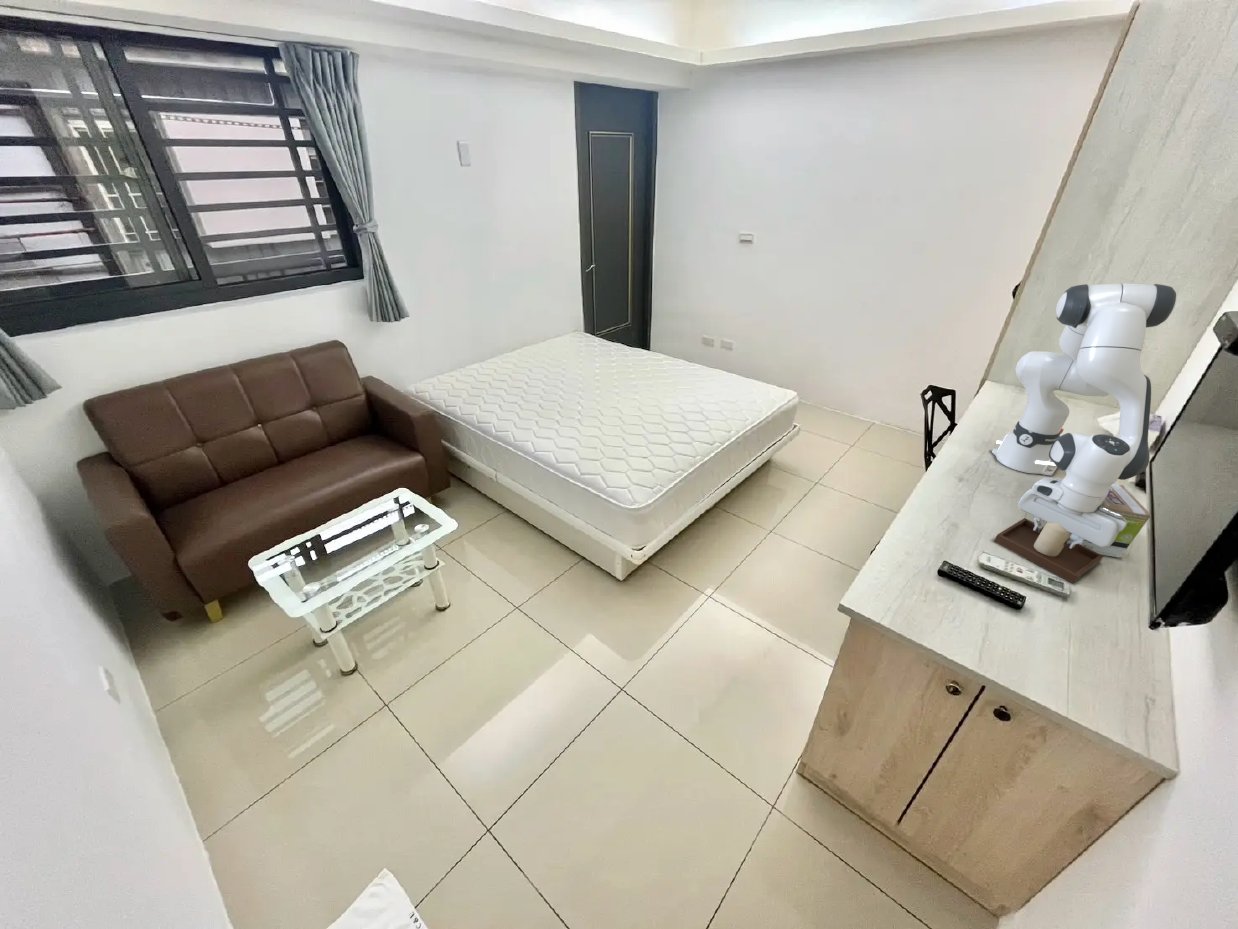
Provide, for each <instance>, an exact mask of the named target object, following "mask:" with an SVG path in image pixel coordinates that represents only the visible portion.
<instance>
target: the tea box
mask: <svg viewBox="0 0 1238 929" xmlns="http://www.w3.org/2000/svg"><path fill="white" fill-rule="evenodd" d="M1101 506H1102V507H1104V508H1107V509H1109V510H1111V511H1113V512H1115V513H1118V514H1121V515H1122V516H1123V518H1125V519H1126V521H1127V526H1126V527H1125V528H1124V530H1123V531H1120V532H1119V533H1118V535H1117V537H1116V539H1115V541H1114V542H1113V543H1112V544H1111V545H1110V546H1108V547H1100V546H1098V545H1095V544H1093V543H1091V542H1089V541H1087V540H1084V541H1083V542H1081V543H1078V544H1080V545H1082V546H1084V547H1086V548H1088V549H1090V550H1092V551H1094V552H1096V553H1098V554H1101V555H1103V556H1108V557H1112V558H1113V557H1114V558H1119V559H1120V558H1121V557H1122V556H1123V555H1124V553H1125V552H1126V551H1127V550H1128V547H1129V546H1130V545H1131V544H1132V543H1133V541H1134V540H1135V538H1136V537H1137V535H1138V534H1139V533H1140V532H1141V530H1142V529H1143V527H1144V526H1145V525H1146V524H1147V522H1148V521H1149V520H1150V518H1151V516H1152V515H1151V513H1150V512H1149V511H1148V510H1147V508H1145V507H1144V505H1142V504H1141V503H1140V501H1139V500H1138V499H1137V498H1136V497H1135V496H1134V495H1133V494H1132V493H1131V492H1130V491H1129V489H1127V488H1126V487H1125V485H1123V484H1119V483H1113V484H1112V485H1111V486H1110V488H1109V492H1108V495H1107V496H1106V498H1105V499H1104V501H1103V502H1102V504H1101ZM1122 520H1123V519H1122ZM1076 538H1077V536H1076V535H1074V534H1071V536H1070V538H1069V540H1070V539H1072V540H1077V539H1076Z"/></svg>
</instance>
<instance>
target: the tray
mask: <svg viewBox="0 0 1238 929" xmlns="http://www.w3.org/2000/svg"><path fill="white" fill-rule="evenodd" d="M1034 527H1035V524H1034V521H1033V520H1030V519H1028V518H1026V517H1023V518H1022V519H1020V520H1019V521H1017V522H1015V523H1013V524H1012V525H1011V526H1009V527H1007V528H1006V529H1004V530H1002V531H1000V532H999V533H997V534H996V536H995V538H994V540H993V542H994V543H995V544H997V545H1000V546H1001V547H1004V548H1005V549H1007V550H1008V551H1011V552H1013V553H1015V554H1017V555H1018V556H1020V557H1022V558H1024V559H1026V560H1028V561H1030V562H1031V563H1033V564H1035V565H1037V566H1039V567H1041V568H1042V569H1044V570H1046V571H1048V572H1050V573H1052V574H1053V575H1056V576H1057V577H1059V578H1061V579H1063V580H1065V581H1067V582H1069V583H1071V584H1074V583H1076V582H1077V581H1078V580H1079V579H1081V578H1082V577H1083V576H1084V575H1086V574H1087V573H1088V572H1090V571H1091V570H1092V569H1093V568H1095V567H1096V566H1097V565H1098V564H1100V562H1101V561H1102V559H1103V558H1104V555H1102V554H1098V553H1096V552H1094V551H1092V550H1090V549H1088V548H1086V547H1084V546H1082V545H1080V544H1076V545H1075V546H1074V547H1073V548H1072V549H1070V548H1068V547H1066V546H1065V545H1064V547H1063V549H1062V550H1061V552H1060V553H1059V555H1057V556H1047V555H1044V554H1042V553H1040V552H1038V551H1037V550H1036V549H1035V548H1034V543H1035V542H1036V540H1037V538H1038V536H1039V535H1040V533H1041V532H1040V533H1038V532H1036V531H1034V530H1033V529H1034ZM1068 540H1070V538H1069V539H1068ZM1066 543H1067V542H1066Z"/></svg>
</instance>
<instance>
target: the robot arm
mask: <svg viewBox="0 0 1238 929" xmlns="http://www.w3.org/2000/svg"><path fill="white" fill-rule="evenodd" d="M1176 304H1177V292H1176V291H1175V289H1174V288H1173V287H1172V286H1169V285H1166V284H1161V283H1160V284H1159V283H1154V284H1147V283H1132V282H1120V283H1099V284H1089V285H1088V284H1087V283H1086V284H1078V285H1073V286H1070V287H1068V288H1067V289H1066V290H1065V291H1064V292H1063V294H1062V295H1061V296H1060V297H1059V299H1058V302H1056V307H1055V314H1056V320H1057V321H1058V322H1059V323H1060V324H1062V325H1065V326H1064V328H1063V330H1062V332H1061V334H1060V336H1059V338H1058V346H1059V348H1060V350H1061V351H1062V353H1060V352H1056V351H1055V352H1054V351H1049V350H1048V351H1046V350H1031V351H1029V352H1026V353H1025V354H1024V355H1022V356H1021V357H1020V358H1019V360H1018V361H1017V363H1016V365H1015V370H1014V371H1015V376H1016V377H1017V380H1019V381H1020V382H1021V384H1022V385H1023V386H1024V389H1025V392H1026V396H1027V399H1026V404H1025V407H1024V410H1023V412H1022V415H1021V417H1020V420H1018V421H1017V423H1016V424H1015V425H1014V427H1013V430H1012V432H1009V433H1007V434H1005V435H1004V437H1003V440H996V441H995V442H996V443H995V444H999V447H996V448H993V449H992V450H991V453H992V454H993V455H994V456H995V457H996V460H997V461H998V462H999V463H1000V464H1001V465H1003V466H1006V467H1007V468H1009V469H1012V470H1015V471H1018V472H1021V473H1027V474H1034V475H1035V474H1036V475H1044V476H1049V477H1044V478H1043V477H1042V478H1041V479H1039V480H1037V481H1036V482H1035V483H1033V485H1032V487H1031V488H1030V489H1028V490H1026V491H1025V492H1024V494H1023V495H1022V496H1021V497H1020V499H1019V500H1018V502H1017V506H1018V507H1017V508H1018V509H1019V510H1021V511H1024V512H1026V513H1027V514H1030V515H1032V516H1034V517H1033V520H1032V521H1033V522H1034V524H1035V527H1034V529H1033V530H1034V531H1036V532H1038V533H1040V532H1041V531H1042V530H1043V528H1044V526H1045V525H1043V524H1042V521H1045V522H1046V523H1047V522H1049V523H1056V524H1060V525H1061V526H1062V527H1063V528H1065V529H1066V531H1068V532H1070V533H1072V534H1074V535H1076V536H1077V538H1076V539H1077V540H1072V539H1070V538H1069V540H1068V541H1067V543H1066V544H1065V546H1066V547H1068V548H1070V549H1072V548H1073V547H1074V546H1075V545H1076V544H1078V543H1081V542H1083V541H1084V540H1087V541H1089V542H1091V543H1093V544H1095V545H1098V546H1100V547H1108V546H1110V545H1111V544H1112V543H1113V542H1114V541H1115V539H1116V537H1117V535H1118V533H1119V532H1120V531H1123V530H1124V528H1125V527H1126V526H1127V521H1126V519H1125V518H1123V516H1122V515H1121V514H1118V513H1115V512H1113V511H1111V510H1109V509H1107V508H1104V507H1102V506H1101V504H1102V502H1103V501H1104V499H1105V498H1106V496H1107V495H1108V492H1109V488H1110V486H1111V485H1112V484H1115V483H1116V482H1117V481H1118V480H1122V481H1124V480H1129V479H1131V478H1134V477H1136V476H1138V475H1140V474H1142V473H1143V472H1144V471H1146V469H1147V468H1148V466H1149V464H1150V463H1149V462H1150V448H1149V430H1150V429H1149V428H1150V417H1151V404H1152V401H1151V400H1152V383H1151V379H1150V378H1149V376H1147V375H1146V374H1145V373H1144V372H1143V369H1142V366H1141V353H1142V350H1143V346H1144V342H1145V338H1146V330H1147V328H1154V327H1157V326H1159V325H1161V324H1163V323H1165V321H1166V320H1167V319H1169V317H1170V316H1171V314H1172V313H1173V311H1174V310H1175V308H1176ZM1054 391H1060V392H1066V393H1070V394H1074V395H1080V396H1086V397H1102V398H1103V397H1108V396H1111V397H1113V398H1114V399H1115V400H1116V401H1117V402H1118V405H1119V423H1118V435H1117V436H1114V435H1110V434H1103V433H1102V434H1100V433H1099V434H1085V433H1079V432H1066V433H1064V434H1063V432H1064V430H1065V429H1064V428H1063V426H1064V425H1065V423H1066V421H1067V419H1068V417H1069V416H1070V408H1069V406H1068V404H1066V403H1065V401H1063V400H1062V399H1061V398H1059V397H1057V396H1056V394H1055V392H1054ZM1061 434H1062V435H1061ZM1057 469H1059V470H1060V471H1063V472H1065V476H1064V477H1063V478H1062V479H1061V478H1055V477H1050V476H1053V474H1055V472H1056V471H1057ZM1122 519H1123V520H1122Z"/></svg>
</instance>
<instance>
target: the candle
mask: <svg viewBox="0 0 1238 929" xmlns="http://www.w3.org/2000/svg"><path fill="white" fill-rule="evenodd" d="M1043 526H1044V528H1043V530H1042V531H1041V533H1040V535H1039V536H1038V538H1037V540H1036V542H1035V543H1034V548H1035V549H1036V550H1037V551H1038V552H1040V553H1042V554H1044V555H1047V556H1057V555H1059V553H1060V552H1061V550H1062V549H1063V547H1064V545H1065V544H1066V542H1067V541H1068V539H1069V540H1070V536H1071V534H1072V533H1070V532H1068V531H1066V529H1065V528H1063V527H1062V526H1061V525H1060V524H1056V523H1049V522H1047V521H1046V523H1045V525H1043Z"/></svg>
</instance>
